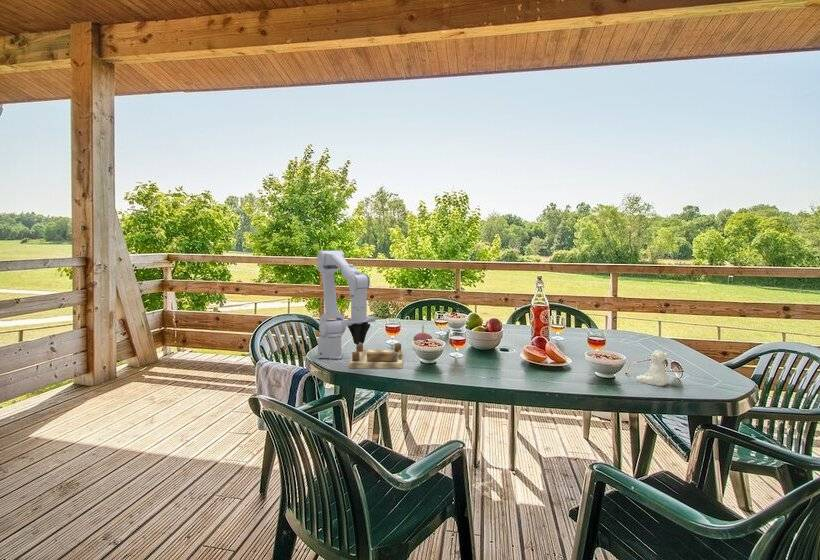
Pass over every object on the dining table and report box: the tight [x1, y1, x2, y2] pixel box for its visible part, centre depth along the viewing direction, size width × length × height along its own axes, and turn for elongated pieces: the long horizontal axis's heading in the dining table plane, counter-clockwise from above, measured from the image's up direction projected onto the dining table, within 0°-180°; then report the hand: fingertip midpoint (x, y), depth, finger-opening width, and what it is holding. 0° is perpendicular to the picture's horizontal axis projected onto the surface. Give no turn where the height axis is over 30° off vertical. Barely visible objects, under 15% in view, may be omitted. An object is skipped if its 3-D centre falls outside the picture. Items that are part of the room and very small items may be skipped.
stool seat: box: [348, 342, 404, 370], centre depth 173 cm, size 20×20×5 cm
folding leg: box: [367, 352, 398, 361], centre depth 166 cm, size 12×2×3 cm, turn 91°
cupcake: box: [412, 324, 433, 342], centre depth 193 cm, size 9×8×12 cm
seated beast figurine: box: [635, 349, 669, 387], centre depth 149 cm, size 10×9×12 cm
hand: (359, 343), depth 159 cm, fingers closed
